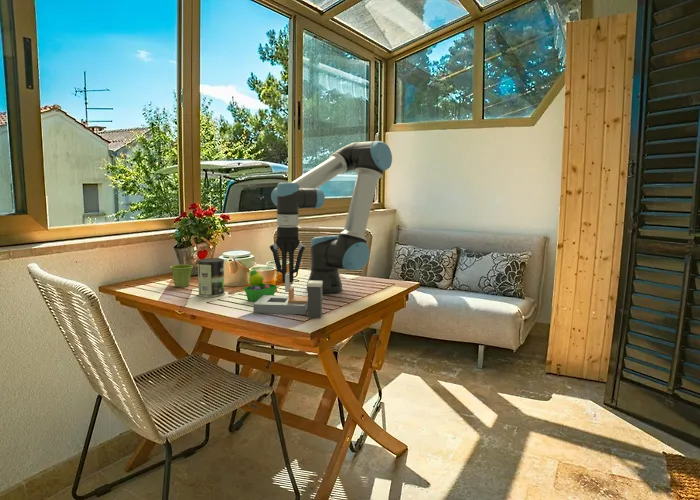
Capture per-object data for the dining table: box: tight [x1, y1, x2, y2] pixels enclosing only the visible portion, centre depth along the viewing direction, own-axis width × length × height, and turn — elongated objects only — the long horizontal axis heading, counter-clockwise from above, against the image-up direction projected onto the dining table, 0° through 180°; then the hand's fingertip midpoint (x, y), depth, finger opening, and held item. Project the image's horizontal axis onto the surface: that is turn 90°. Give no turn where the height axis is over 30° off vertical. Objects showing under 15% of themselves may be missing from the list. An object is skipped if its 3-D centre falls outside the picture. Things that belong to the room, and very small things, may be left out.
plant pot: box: [169, 264, 194, 288], centre depth 215 cm, size 9×9×9 cm
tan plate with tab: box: [288, 286, 308, 303], centre depth 179 cm, size 7×7×4 cm
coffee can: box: [196, 257, 226, 298], centre depth 200 cm, size 10×10×14 cm
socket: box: [253, 294, 308, 315], centre depth 180 cm, size 14×18×3 cm
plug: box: [306, 280, 323, 319], centre depth 170 cm, size 5×5×12 cm
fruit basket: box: [243, 269, 277, 303], centre depth 194 cm, size 11×9×11 cm
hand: (287, 291), depth 180 cm, fingers closed
